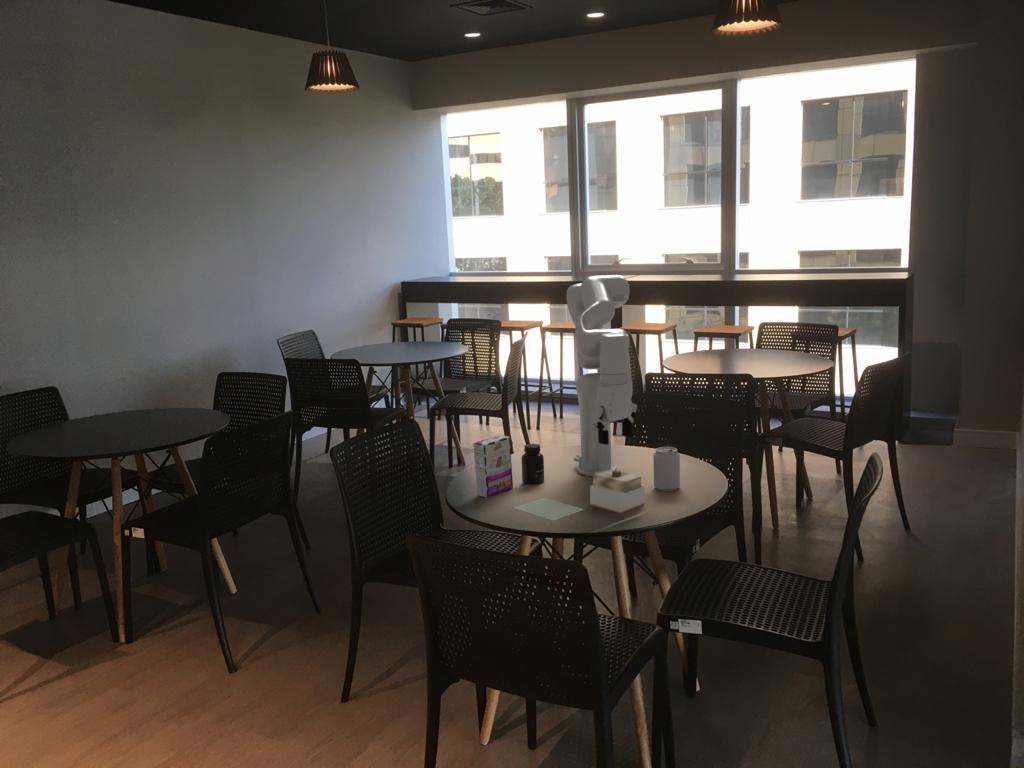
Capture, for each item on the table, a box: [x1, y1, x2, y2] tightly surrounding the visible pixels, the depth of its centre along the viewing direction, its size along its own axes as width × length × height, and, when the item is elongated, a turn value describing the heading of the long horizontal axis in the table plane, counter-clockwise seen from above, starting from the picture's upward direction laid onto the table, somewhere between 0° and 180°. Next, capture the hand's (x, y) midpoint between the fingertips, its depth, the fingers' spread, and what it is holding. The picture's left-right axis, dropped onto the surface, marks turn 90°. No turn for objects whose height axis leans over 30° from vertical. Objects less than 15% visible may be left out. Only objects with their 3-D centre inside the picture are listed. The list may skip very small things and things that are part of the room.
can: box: [653, 446, 681, 492], centre depth 246 cm, size 8×8×12 cm
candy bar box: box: [473, 434, 514, 499], centre depth 249 cm, size 11×5×16 cm, turn 137°
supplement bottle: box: [521, 443, 545, 486], centre depth 257 cm, size 7×7×12 cm
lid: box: [592, 469, 642, 493], centre depth 231 cm, size 12×6×4 cm, turn 42°
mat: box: [513, 497, 585, 522], centre depth 232 cm, size 16×12×1 cm
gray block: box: [589, 484, 645, 514], centre depth 232 cm, size 11×10×6 cm
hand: (615, 440), depth 230 cm, fingers open, 9 cm apart
